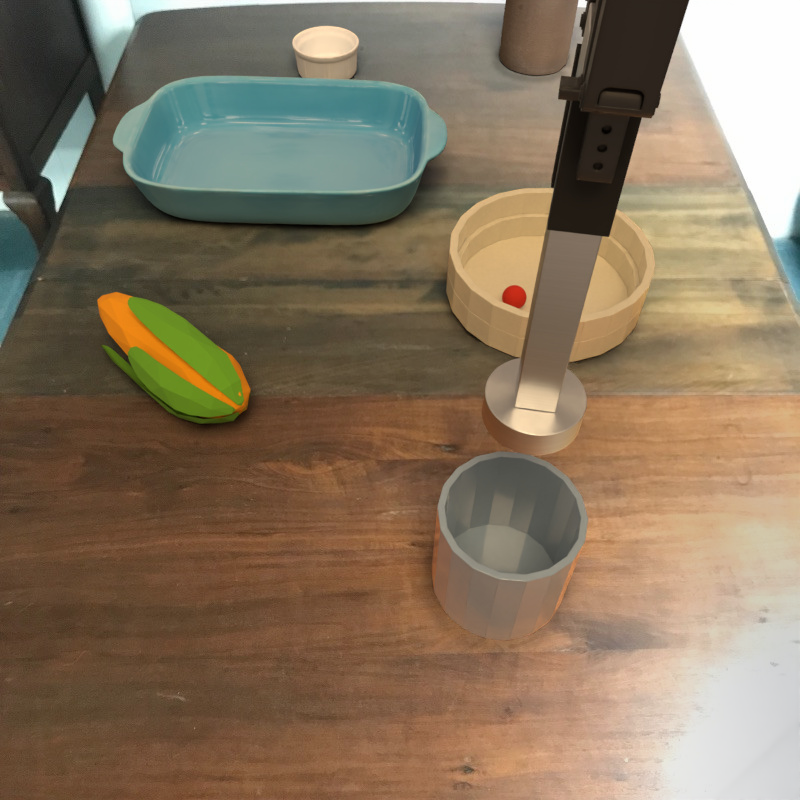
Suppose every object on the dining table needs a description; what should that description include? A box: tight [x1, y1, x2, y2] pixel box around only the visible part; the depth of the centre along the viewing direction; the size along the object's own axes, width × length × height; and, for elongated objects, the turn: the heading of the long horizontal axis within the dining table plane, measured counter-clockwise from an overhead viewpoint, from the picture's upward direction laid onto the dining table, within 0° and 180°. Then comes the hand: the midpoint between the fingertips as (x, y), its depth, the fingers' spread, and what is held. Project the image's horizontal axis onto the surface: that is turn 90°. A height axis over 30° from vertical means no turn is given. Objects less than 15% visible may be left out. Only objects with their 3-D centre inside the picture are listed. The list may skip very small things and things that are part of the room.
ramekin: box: [291, 25, 360, 79], centre depth 107 cm, size 9×9×4 cm
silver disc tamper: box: [481, 3, 602, 456], centre depth 39 cm, size 6×6×24 cm
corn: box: [96, 291, 252, 425], centre depth 71 cm, size 7×8×20 cm
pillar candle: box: [498, 0, 579, 76], centre depth 106 cm, size 10×10×15 cm
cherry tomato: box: [502, 285, 527, 309], centre depth 78 cm, size 2×2×2 cm
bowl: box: [445, 187, 656, 363], centre depth 79 cm, size 20×20×6 cm
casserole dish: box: [112, 75, 448, 226], centre depth 90 cm, size 37×22×7 cm, turn 87°
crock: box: [431, 450, 589, 641], centre depth 57 cm, size 10×10×10 cm
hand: (579, 205), depth 36 cm, fingers closed on silver disc tamper, 2 cm apart
